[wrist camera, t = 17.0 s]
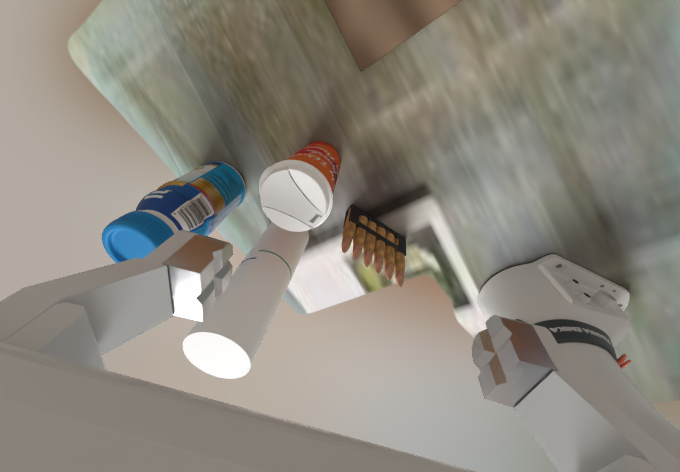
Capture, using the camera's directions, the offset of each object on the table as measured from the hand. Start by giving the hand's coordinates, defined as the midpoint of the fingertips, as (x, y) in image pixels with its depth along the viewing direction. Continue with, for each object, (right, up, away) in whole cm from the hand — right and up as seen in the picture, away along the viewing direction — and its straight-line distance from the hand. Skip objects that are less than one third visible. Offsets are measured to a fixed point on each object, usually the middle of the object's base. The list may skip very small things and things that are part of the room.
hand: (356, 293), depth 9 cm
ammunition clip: (+5, +4, +39) cm, 39 cm away
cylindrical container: (-9, +2, +42) cm, 43 cm away
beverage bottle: (-20, +10, +39) cm, 45 cm away
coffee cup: (-3, +13, +34) cm, 37 cm away
